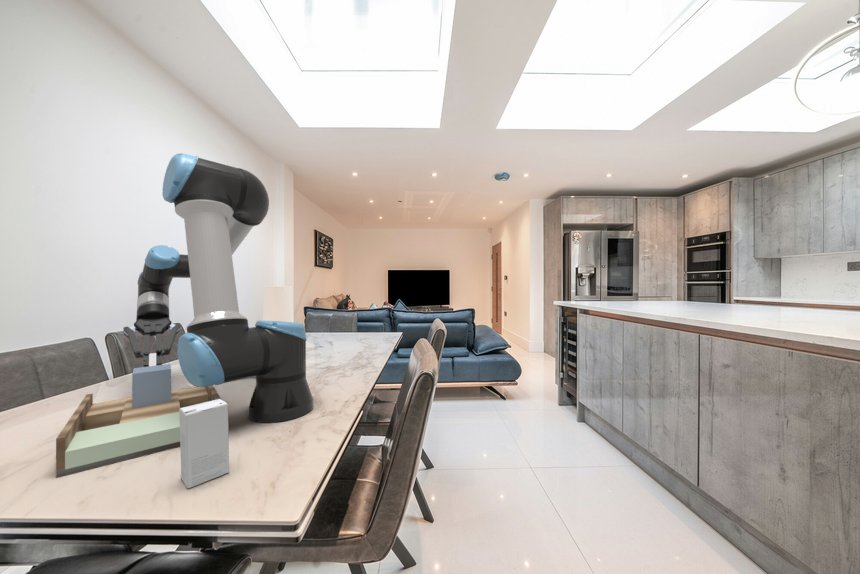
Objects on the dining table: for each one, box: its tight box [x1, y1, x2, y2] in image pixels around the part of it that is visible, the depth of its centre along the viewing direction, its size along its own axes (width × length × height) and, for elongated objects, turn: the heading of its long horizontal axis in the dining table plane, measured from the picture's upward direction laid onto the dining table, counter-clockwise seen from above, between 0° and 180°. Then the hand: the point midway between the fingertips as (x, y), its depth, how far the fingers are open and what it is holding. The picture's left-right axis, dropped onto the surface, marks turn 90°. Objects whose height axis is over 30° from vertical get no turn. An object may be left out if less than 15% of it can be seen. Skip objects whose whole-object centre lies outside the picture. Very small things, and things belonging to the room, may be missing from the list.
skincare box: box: [179, 398, 230, 489], centre depth 54 cm, size 6×4×12 cm
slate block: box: [131, 363, 172, 409], centre depth 79 cm, size 7×7×8 cm
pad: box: [65, 412, 180, 469], centre depth 66 cm, size 10×22×3 cm, turn 130°
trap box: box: [55, 385, 222, 479], centre depth 73 cm, size 30×24×6 cm
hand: (152, 376), depth 86 cm, fingers closed
